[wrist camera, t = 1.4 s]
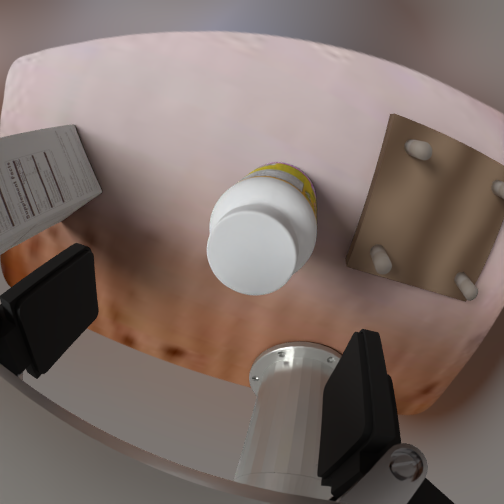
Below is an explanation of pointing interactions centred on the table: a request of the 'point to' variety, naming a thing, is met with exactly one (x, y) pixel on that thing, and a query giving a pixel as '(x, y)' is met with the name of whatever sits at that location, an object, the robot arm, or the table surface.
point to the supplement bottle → (263, 229)
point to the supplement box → (41, 181)
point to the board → (429, 211)
